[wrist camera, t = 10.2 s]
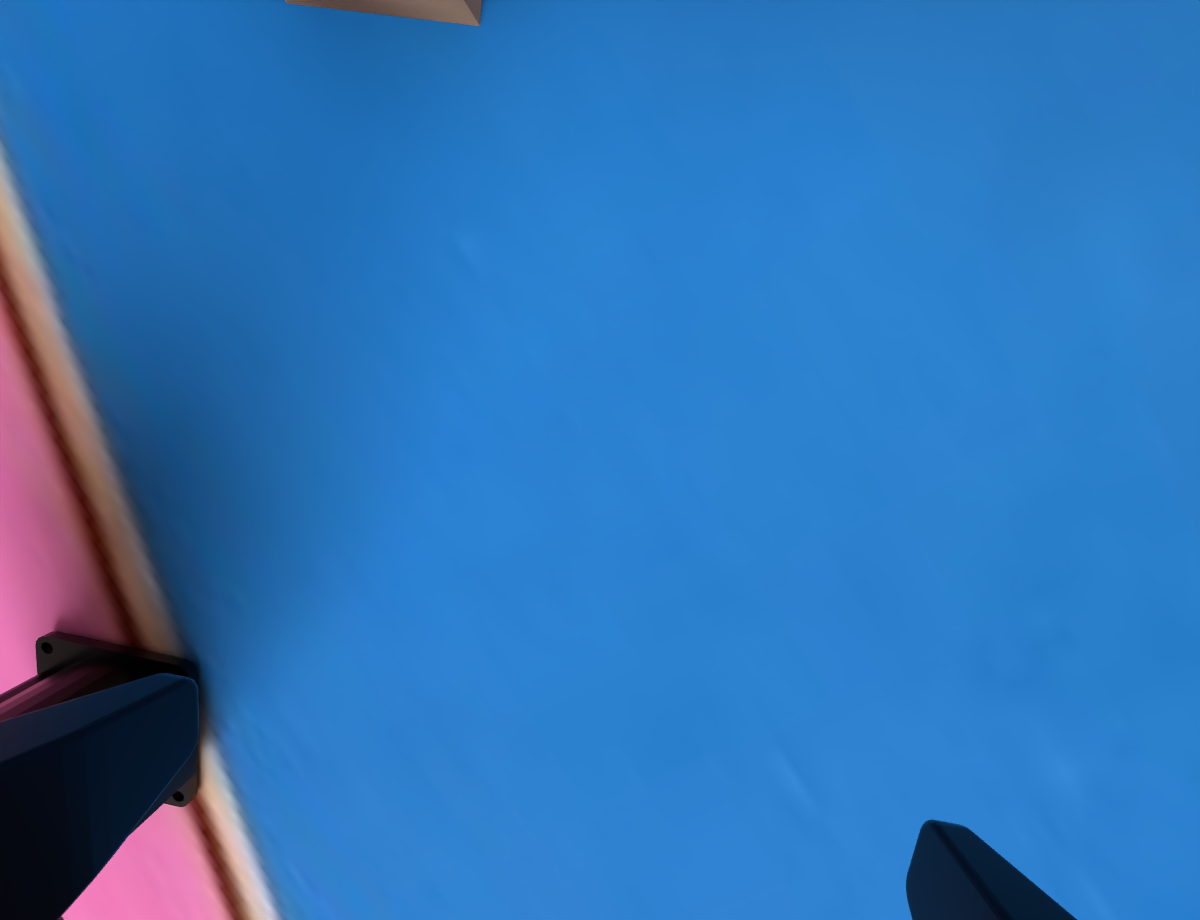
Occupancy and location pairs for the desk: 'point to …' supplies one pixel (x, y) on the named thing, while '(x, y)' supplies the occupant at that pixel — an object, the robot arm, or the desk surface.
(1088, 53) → the desk surface
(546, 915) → the desk surface
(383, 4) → the tower bottom
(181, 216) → the desk surface
